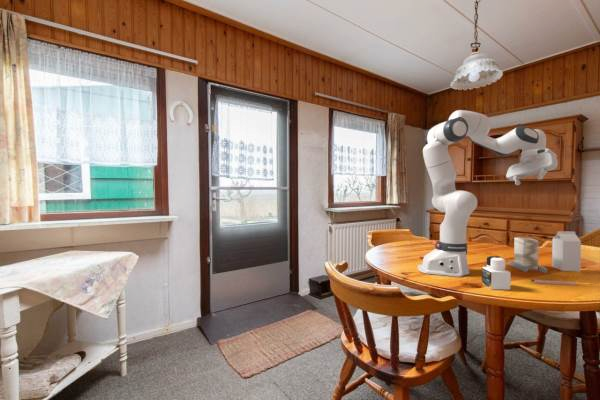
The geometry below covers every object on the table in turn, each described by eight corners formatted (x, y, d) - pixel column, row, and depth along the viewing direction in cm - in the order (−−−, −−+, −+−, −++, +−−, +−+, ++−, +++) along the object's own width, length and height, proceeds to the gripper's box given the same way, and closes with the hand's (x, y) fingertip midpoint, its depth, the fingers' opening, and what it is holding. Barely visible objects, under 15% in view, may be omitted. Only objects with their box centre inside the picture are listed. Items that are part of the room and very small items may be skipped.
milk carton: (580, 273, 126) (581, 232, 126) (562, 273, 128) (563, 232, 127) (568, 269, 133) (569, 230, 133) (551, 268, 134) (552, 230, 134)
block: (523, 269, 130) (523, 240, 129) (514, 265, 138) (514, 237, 137) (538, 270, 129) (538, 240, 128) (528, 265, 136) (528, 237, 136)
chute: (536, 283, 114) (536, 276, 114) (503, 266, 140) (503, 260, 140) (576, 285, 111) (576, 278, 111) (535, 267, 137) (535, 261, 137)
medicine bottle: (481, 283, 114) (481, 254, 114) (500, 284, 113) (500, 255, 113) (490, 289, 107) (491, 259, 107) (510, 290, 106) (511, 259, 106)
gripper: (505, 162, 142) (501, 184, 137) (552, 146, 123) (548, 171, 118) (513, 169, 143) (509, 190, 138) (561, 154, 124) (558, 179, 119)
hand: (528, 181), depth 128 cm, fingers open, 8 cm apart
